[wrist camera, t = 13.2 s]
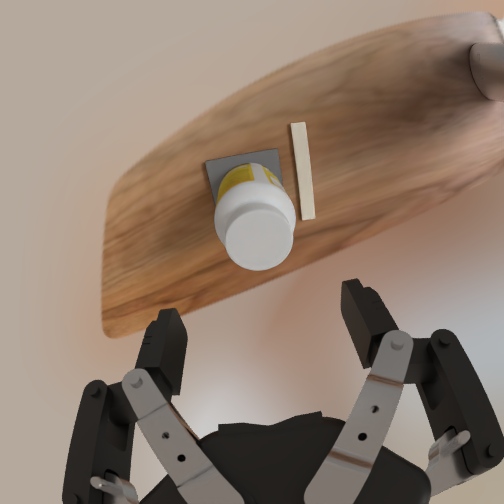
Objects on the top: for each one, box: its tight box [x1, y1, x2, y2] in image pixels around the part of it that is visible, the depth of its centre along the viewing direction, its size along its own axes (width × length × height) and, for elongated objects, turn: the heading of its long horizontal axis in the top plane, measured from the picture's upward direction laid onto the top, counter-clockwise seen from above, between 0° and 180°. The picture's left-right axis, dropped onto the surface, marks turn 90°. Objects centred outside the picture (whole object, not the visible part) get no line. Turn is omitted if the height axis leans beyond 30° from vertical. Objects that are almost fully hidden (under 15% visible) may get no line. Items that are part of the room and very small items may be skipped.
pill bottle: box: [214, 163, 296, 271], centre depth 23 cm, size 6×6×12 cm
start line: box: [290, 122, 315, 220], centre depth 28 cm, size 2×11×1 cm, turn 10°
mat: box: [205, 149, 283, 207], centre depth 29 cm, size 8×8×1 cm
